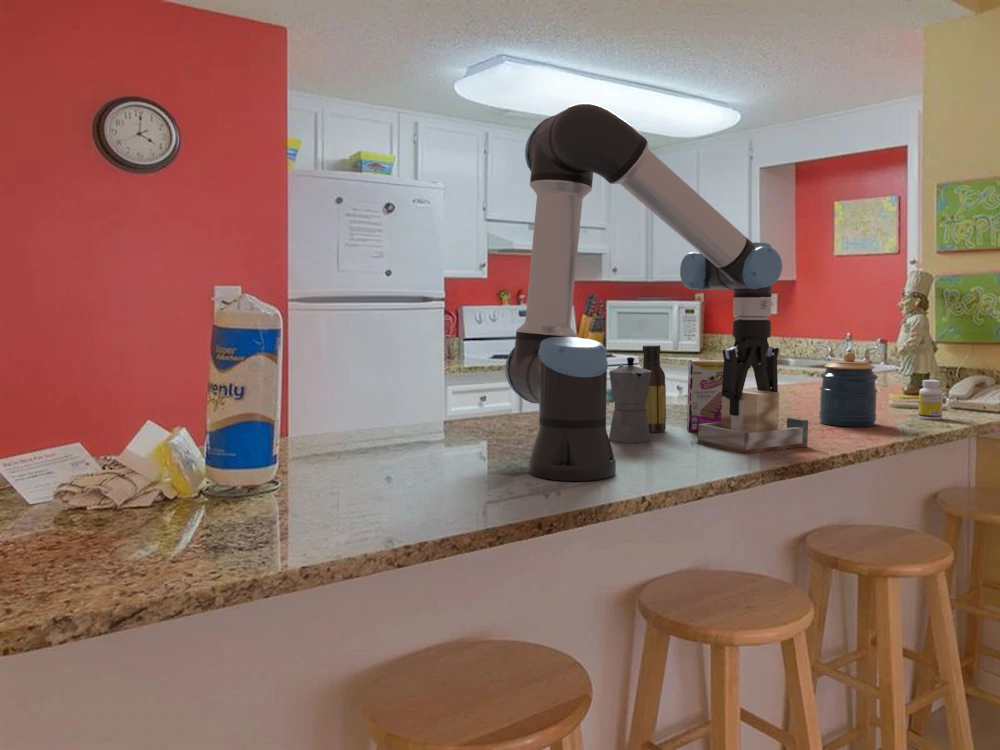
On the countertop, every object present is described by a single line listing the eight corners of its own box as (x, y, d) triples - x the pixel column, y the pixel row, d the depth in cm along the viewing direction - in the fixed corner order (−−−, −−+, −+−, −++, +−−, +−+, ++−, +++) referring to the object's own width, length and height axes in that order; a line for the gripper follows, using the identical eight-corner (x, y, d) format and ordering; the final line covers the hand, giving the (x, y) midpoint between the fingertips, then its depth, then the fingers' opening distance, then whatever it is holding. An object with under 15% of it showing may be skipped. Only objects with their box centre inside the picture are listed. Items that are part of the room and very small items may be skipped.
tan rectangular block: (756, 438, 165) (757, 394, 164) (721, 431, 173) (722, 389, 173) (777, 436, 167) (779, 392, 167) (742, 429, 176) (743, 388, 175)
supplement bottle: (923, 416, 213) (925, 379, 212) (945, 418, 209) (947, 380, 208) (914, 418, 210) (916, 380, 209) (936, 420, 205) (938, 381, 204)
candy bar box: (688, 432, 188) (690, 361, 186) (686, 429, 193) (687, 359, 191) (738, 433, 186) (740, 361, 185) (734, 429, 191) (736, 359, 190)
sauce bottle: (659, 428, 194) (661, 344, 192) (670, 432, 188) (671, 345, 186) (634, 429, 193) (635, 344, 191) (643, 433, 186) (644, 346, 185)
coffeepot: (660, 444, 171) (661, 359, 170) (616, 445, 170) (617, 359, 169) (638, 433, 187) (639, 354, 185) (598, 434, 185) (598, 354, 184)
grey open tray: (746, 453, 161) (746, 426, 161) (697, 442, 173) (698, 417, 173) (807, 446, 169) (808, 420, 168) (756, 436, 181) (757, 412, 181)
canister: (808, 420, 206) (810, 350, 204) (854, 419, 208) (857, 350, 207) (838, 428, 193) (841, 353, 191) (887, 426, 195) (890, 353, 194)
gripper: (730, 319, 161) (727, 436, 163) (799, 318, 169) (795, 428, 172) (703, 318, 167) (701, 430, 169) (771, 317, 176) (768, 424, 178)
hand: (749, 429), depth 170 cm, fingers closed on tan rectangular block, 6 cm apart
